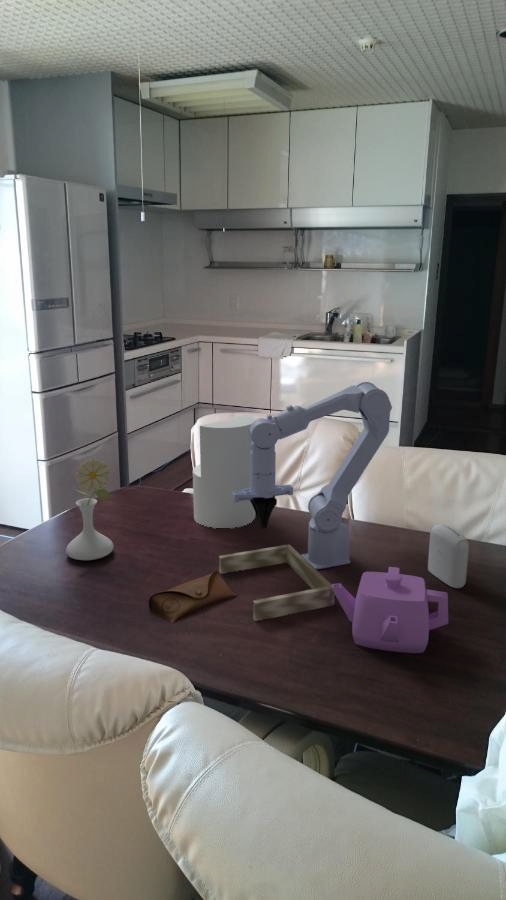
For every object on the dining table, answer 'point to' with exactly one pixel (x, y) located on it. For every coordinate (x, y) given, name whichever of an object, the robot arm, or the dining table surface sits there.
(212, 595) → the sunglasses case
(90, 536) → the flower in vase
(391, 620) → the teakettle
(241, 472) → the cylinder
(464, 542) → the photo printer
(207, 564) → the dining table surface
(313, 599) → the open wooden frame
